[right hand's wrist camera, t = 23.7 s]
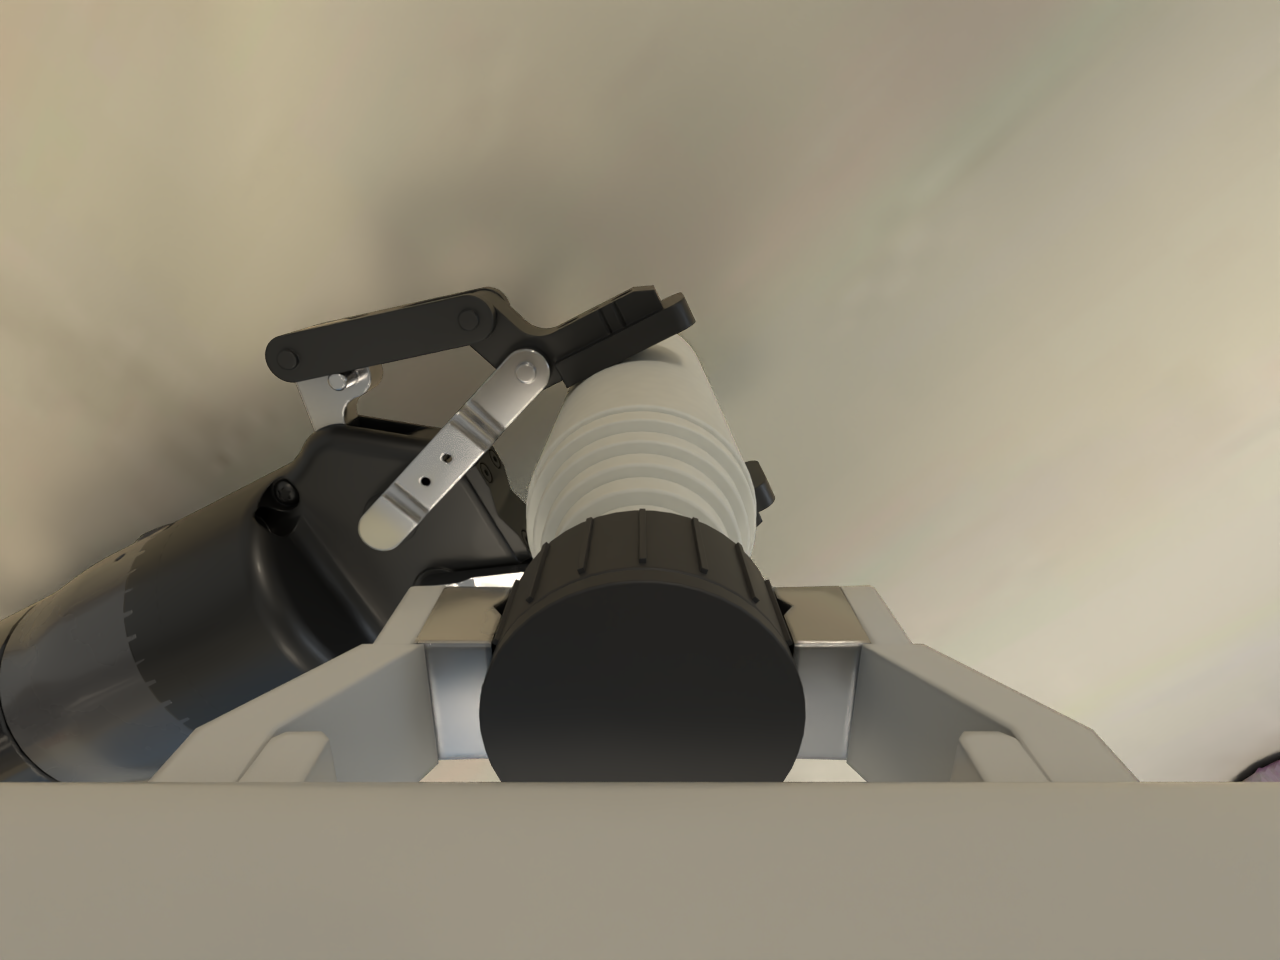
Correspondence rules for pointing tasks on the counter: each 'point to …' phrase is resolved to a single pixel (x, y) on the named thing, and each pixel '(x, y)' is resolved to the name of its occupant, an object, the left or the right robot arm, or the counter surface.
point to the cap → (642, 661)
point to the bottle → (642, 451)
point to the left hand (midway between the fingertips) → (725, 397)
